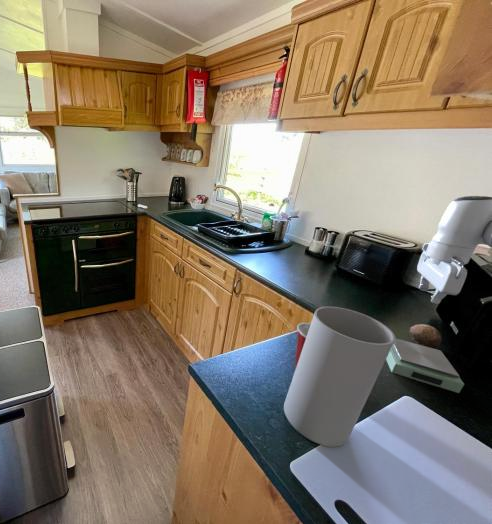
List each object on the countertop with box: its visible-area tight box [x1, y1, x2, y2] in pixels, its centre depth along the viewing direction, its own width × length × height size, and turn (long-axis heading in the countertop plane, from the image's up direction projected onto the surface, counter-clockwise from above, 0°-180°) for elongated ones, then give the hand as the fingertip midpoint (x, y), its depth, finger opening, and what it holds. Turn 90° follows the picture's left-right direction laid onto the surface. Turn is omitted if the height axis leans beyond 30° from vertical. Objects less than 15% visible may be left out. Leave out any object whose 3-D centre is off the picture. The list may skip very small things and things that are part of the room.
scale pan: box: [392, 337, 460, 378], centre depth 81 cm, size 12×12×1 cm
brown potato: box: [408, 323, 443, 348], centre depth 94 cm, size 8×8×6 cm
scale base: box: [385, 346, 465, 394], centre depth 82 cm, size 14×14×4 cm
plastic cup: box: [295, 322, 311, 368], centre depth 76 cm, size 11×11×12 cm
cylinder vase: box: [283, 306, 396, 448], centre depth 58 cm, size 12×12×25 cm
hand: (428, 296), depth 87 cm, fingers open, 8 cm apart
